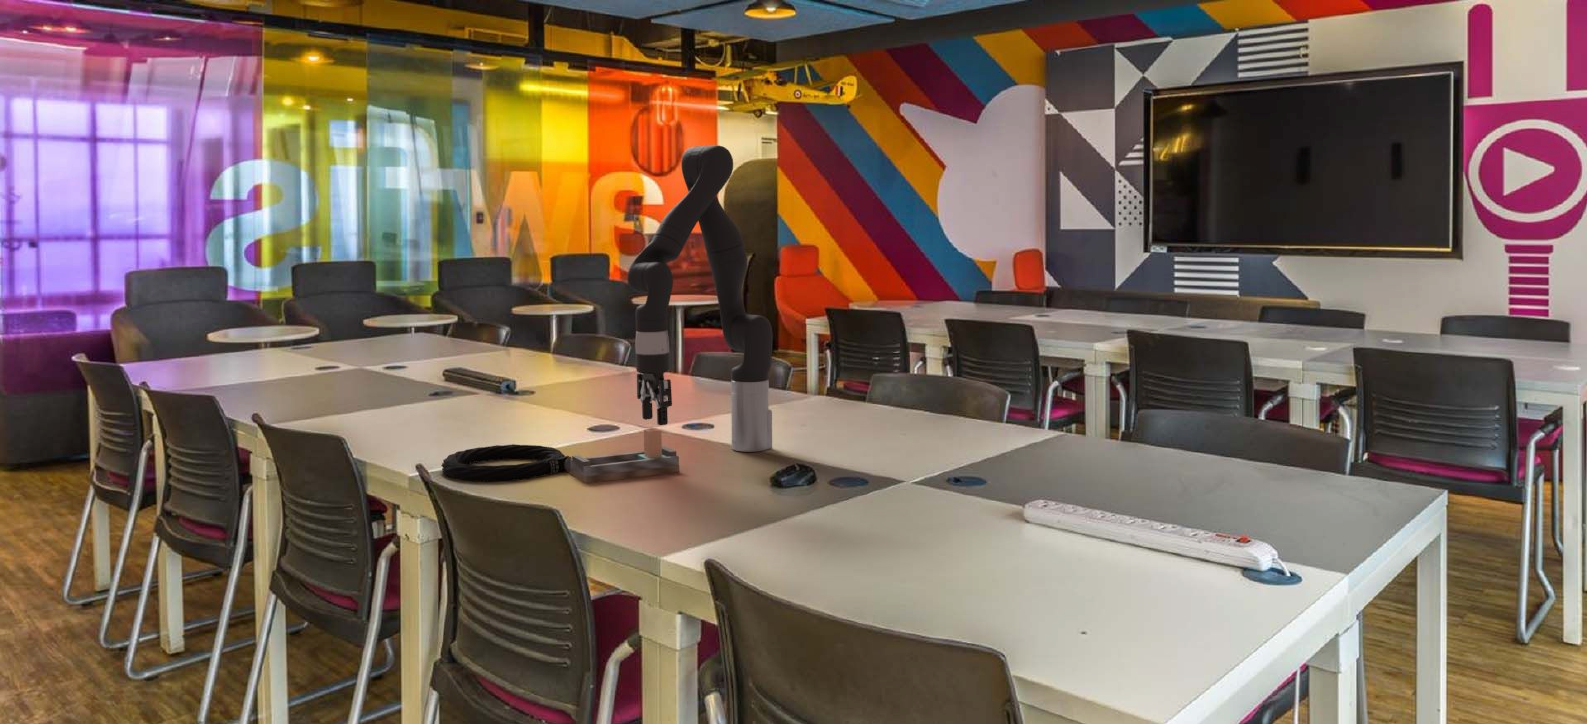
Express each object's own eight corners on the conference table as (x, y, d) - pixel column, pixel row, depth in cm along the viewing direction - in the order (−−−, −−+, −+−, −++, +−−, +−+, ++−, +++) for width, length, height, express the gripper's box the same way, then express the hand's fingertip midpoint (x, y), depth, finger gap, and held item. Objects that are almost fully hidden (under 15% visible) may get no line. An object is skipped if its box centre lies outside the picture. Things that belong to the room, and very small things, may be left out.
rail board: (661, 463, 267) (661, 444, 266) (679, 471, 258) (679, 452, 258) (570, 474, 256) (569, 454, 255) (585, 483, 247) (585, 462, 247)
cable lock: (476, 441, 278) (593, 445, 272) (477, 456, 279) (593, 460, 273) (417, 464, 251) (545, 469, 245) (418, 481, 252) (546, 487, 246)
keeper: (657, 459, 264) (657, 426, 263) (669, 464, 259) (668, 431, 258) (637, 461, 262) (636, 428, 261) (648, 466, 256) (647, 433, 255)
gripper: (681, 352, 253) (683, 425, 255) (655, 346, 265) (657, 415, 267) (649, 355, 249) (652, 428, 251) (624, 349, 261) (627, 418, 264)
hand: (654, 421), depth 259 cm, fingers open, 8 cm apart
